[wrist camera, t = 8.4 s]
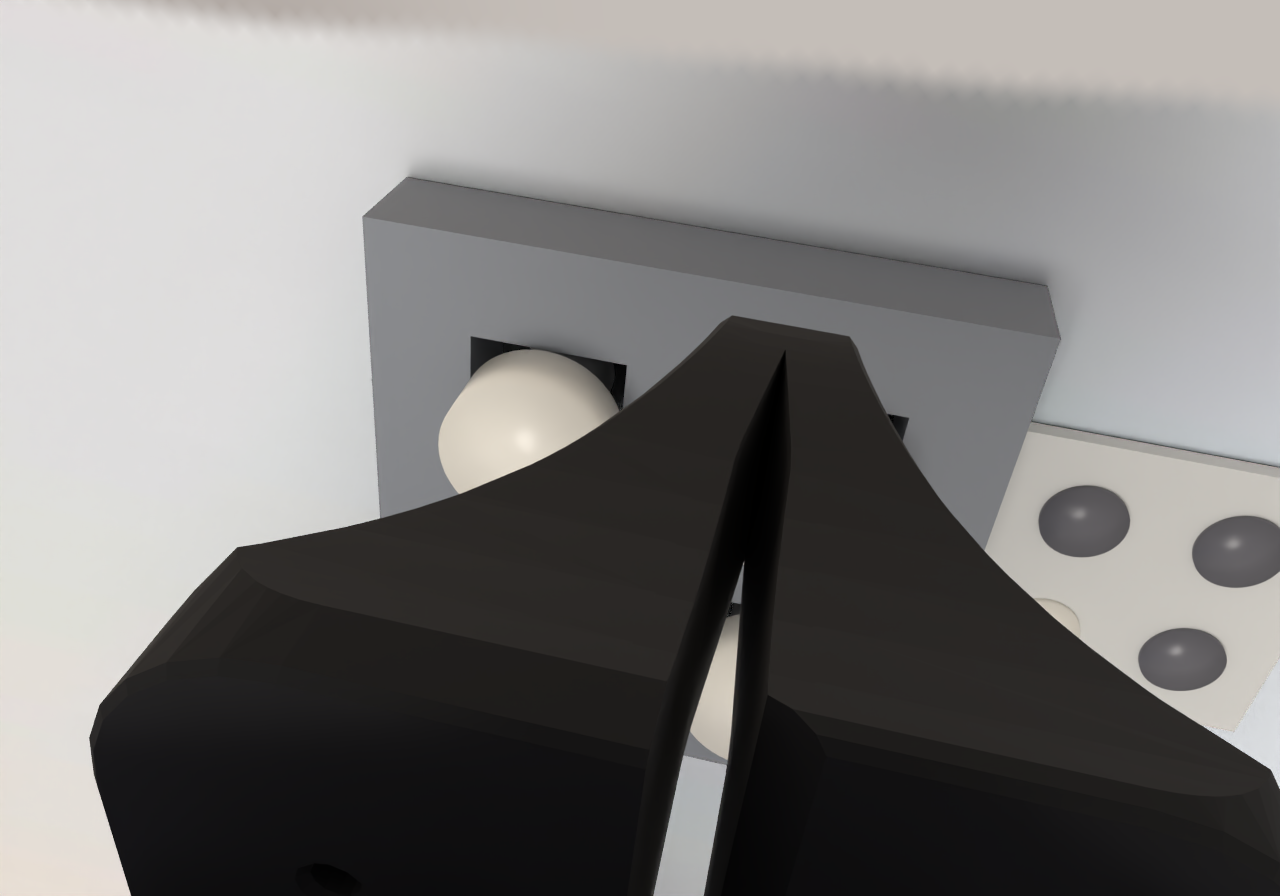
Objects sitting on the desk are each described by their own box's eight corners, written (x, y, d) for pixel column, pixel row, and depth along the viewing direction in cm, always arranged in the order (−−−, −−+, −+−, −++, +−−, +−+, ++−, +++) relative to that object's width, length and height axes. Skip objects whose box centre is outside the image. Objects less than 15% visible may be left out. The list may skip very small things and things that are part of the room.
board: (1047, 285, 21) (1060, 338, 19) (894, 734, 28) (893, 803, 26) (406, 177, 22) (362, 216, 20) (421, 630, 30) (390, 688, 28)
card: (1371, 484, 22) (1381, 500, 21) (1230, 719, 25) (1235, 736, 25) (1016, 419, 22) (1019, 433, 22) (933, 656, 26) (934, 672, 26)
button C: (653, 314, 23) (614, 403, 20) (638, 445, 25) (601, 546, 22) (498, 286, 23) (436, 370, 20) (495, 418, 25) (439, 513, 22)
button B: (859, 564, 25) (852, 677, 22) (831, 665, 27) (821, 783, 24) (716, 535, 25) (690, 643, 22) (698, 637, 27) (672, 749, 24)
